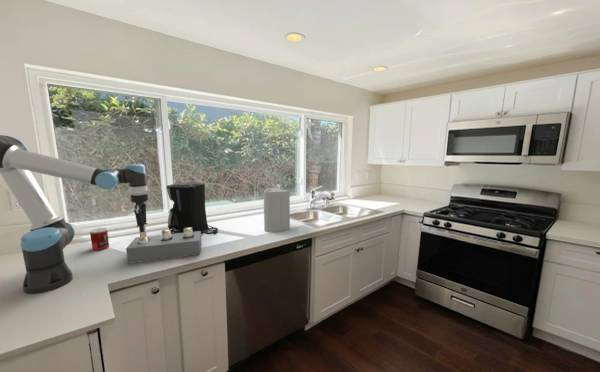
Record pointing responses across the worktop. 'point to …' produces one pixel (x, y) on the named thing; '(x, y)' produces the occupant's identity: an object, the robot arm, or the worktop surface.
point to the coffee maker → (188, 208)
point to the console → (164, 247)
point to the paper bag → (276, 210)
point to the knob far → (188, 232)
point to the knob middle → (166, 234)
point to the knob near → (144, 240)
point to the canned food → (99, 239)
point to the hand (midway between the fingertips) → (143, 237)
